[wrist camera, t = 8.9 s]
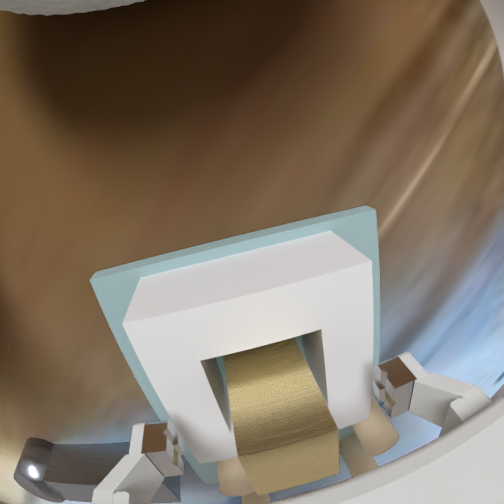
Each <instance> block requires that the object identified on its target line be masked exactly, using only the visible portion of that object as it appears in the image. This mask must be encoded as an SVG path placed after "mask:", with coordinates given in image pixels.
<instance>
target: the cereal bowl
mask: <svg viewBox="0 0 504 504" xmlns="http://www.w3.org/2000/svg"><path fill="white" fill-rule="evenodd" d="M143 1H145V0H0V10H2V11H10V12H13V13H17V14H22V13H25V14H27V15H38V14H42V15H46V16H48V15H54V14H61V15H63V14H67V15H68V14H72V13H86V12H91V11H95V10H106V9H109V8H112V7H120V6H122V5H130V4H132V3H135V2H143Z"/></svg>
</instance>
